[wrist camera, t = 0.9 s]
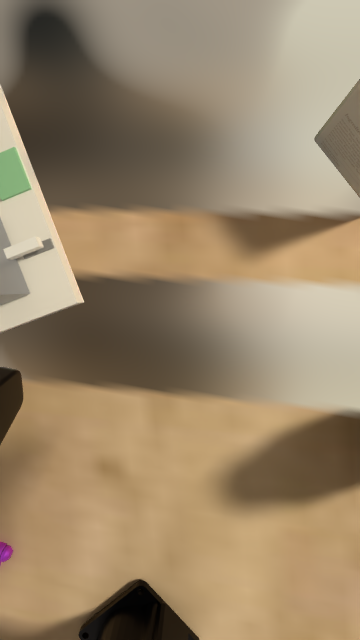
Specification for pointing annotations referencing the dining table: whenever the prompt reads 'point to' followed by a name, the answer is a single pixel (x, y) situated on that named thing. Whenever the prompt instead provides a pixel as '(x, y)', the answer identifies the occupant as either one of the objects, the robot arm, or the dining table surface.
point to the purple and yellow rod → (5, 552)
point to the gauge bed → (30, 234)
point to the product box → (344, 138)
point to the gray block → (14, 266)
